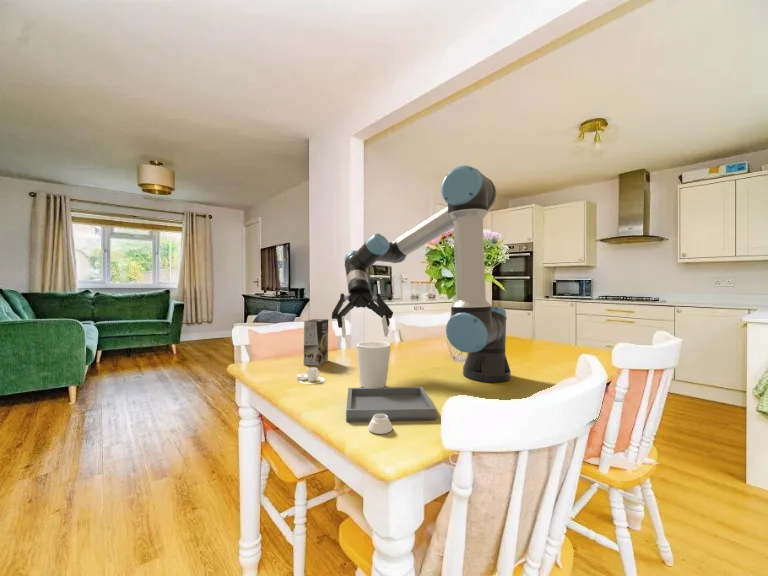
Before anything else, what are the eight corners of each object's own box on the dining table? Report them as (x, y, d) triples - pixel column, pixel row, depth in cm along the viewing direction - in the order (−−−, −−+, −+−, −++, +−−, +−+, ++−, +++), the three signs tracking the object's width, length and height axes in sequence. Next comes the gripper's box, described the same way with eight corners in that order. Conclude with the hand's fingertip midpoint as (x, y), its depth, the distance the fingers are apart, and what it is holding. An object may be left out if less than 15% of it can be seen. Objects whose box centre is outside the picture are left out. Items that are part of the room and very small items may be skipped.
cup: (397, 388, 99) (397, 344, 99) (369, 395, 93) (370, 348, 93) (376, 380, 107) (376, 339, 107) (349, 386, 101) (349, 343, 101)
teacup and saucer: (292, 380, 107) (292, 367, 107) (315, 376, 113) (315, 363, 113) (307, 387, 101) (307, 373, 101) (330, 382, 106) (330, 369, 106)
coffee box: (319, 366, 124) (320, 321, 124) (303, 365, 126) (303, 321, 125) (328, 360, 133) (329, 318, 133) (313, 359, 135) (313, 318, 134)
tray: (422, 396, 93) (422, 386, 93) (435, 419, 77) (436, 408, 77) (348, 397, 92) (348, 387, 92) (346, 421, 76) (346, 410, 76)
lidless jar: (397, 431, 71) (382, 423, 75) (397, 417, 71) (382, 410, 75) (377, 437, 68) (363, 429, 72) (377, 423, 68) (363, 415, 72)
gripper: (390, 293, 128) (401, 340, 114) (322, 292, 122) (324, 342, 108) (394, 278, 123) (406, 326, 109) (323, 277, 117) (326, 328, 102)
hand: (365, 334), depth 108 cm, fingers open, 13 cm apart
